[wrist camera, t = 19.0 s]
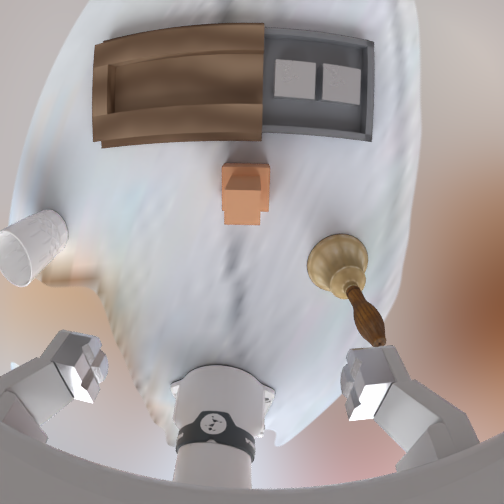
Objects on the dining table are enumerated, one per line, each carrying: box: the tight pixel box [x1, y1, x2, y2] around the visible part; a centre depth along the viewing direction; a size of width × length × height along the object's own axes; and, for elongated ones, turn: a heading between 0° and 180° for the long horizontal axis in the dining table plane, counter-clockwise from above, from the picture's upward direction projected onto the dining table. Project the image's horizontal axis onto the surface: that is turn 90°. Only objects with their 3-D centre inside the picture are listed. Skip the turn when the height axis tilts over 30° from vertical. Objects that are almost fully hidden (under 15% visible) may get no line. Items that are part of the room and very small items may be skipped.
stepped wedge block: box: [222, 163, 270, 225], centre depth 29 cm, size 5×5×10 cm
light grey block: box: [273, 59, 316, 101], centre depth 26 cm, size 4×4×3 cm
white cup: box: [0, 209, 68, 287], centre depth 32 cm, size 8×8×10 cm
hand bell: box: [307, 234, 386, 347], centre depth 30 cm, size 8×8×16 cm
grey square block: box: [316, 63, 361, 106], centre depth 26 cm, size 4×4×3 cm
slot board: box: [92, 23, 264, 148], centre depth 27 cm, size 14×19×3 cm
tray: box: [262, 27, 374, 142], centre depth 27 cm, size 12×12×2 cm
